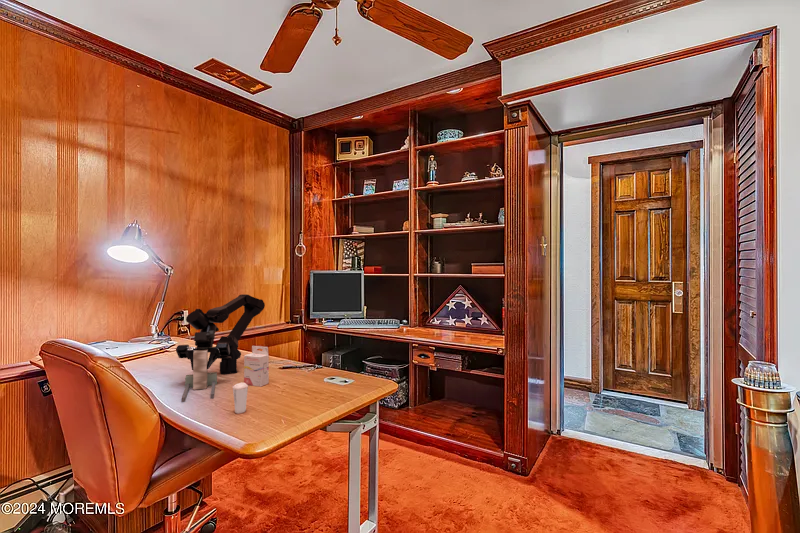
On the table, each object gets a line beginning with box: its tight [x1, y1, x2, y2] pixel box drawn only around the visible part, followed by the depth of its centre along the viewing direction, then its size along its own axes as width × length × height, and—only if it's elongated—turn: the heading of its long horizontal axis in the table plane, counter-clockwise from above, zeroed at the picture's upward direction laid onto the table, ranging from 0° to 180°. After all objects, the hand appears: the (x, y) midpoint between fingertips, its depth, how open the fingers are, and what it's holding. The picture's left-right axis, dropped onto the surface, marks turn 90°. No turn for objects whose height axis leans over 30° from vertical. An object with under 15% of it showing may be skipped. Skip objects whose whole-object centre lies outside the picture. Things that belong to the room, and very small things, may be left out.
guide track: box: [181, 371, 218, 403], centre depth 147 cm, size 11×22×4 cm, turn 24°
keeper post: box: [192, 350, 209, 390], centre depth 151 cm, size 4×4×14 cm
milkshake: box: [230, 380, 249, 415], centre depth 126 cm, size 4×5×10 cm
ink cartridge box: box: [243, 345, 270, 387], centre depth 156 cm, size 9×5×15 cm, turn 71°
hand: (199, 369), depth 150 cm, fingers closed on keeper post, 5 cm apart
